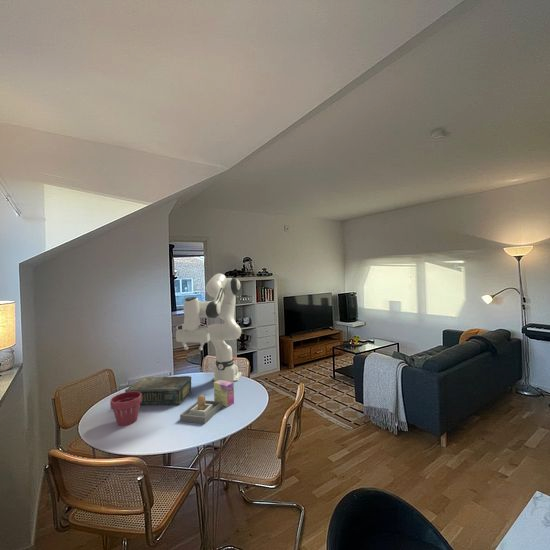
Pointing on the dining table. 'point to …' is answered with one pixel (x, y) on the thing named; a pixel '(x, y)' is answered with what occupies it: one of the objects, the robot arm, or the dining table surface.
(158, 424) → the dining table surface
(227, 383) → the box
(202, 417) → the housing
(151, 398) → the metal box
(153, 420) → the dining table surface
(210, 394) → the dining table surface
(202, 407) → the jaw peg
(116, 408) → the plant pot
